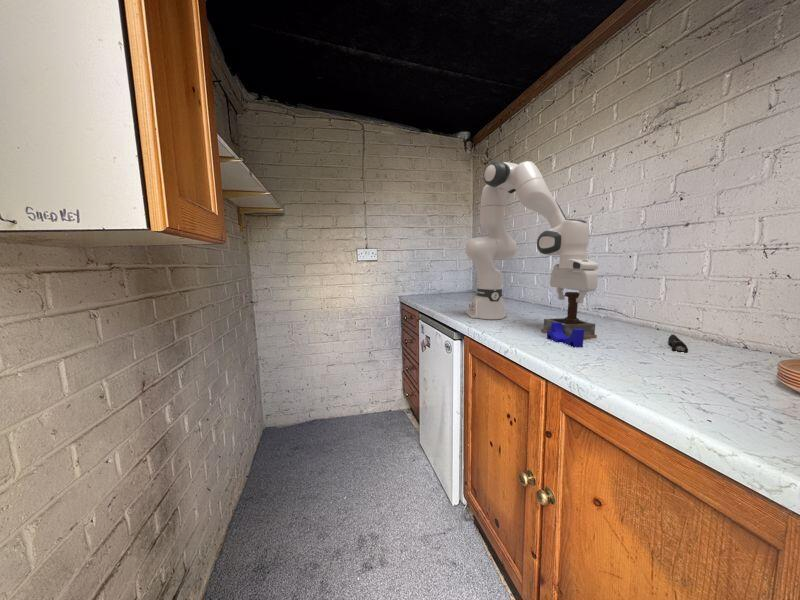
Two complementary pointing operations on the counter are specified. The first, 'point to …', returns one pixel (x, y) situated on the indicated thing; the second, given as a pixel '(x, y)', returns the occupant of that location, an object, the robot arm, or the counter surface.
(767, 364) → the counter surface
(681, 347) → the electric trimmer
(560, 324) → the cable clip
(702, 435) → the counter surface
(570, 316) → the bolt
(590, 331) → the bolt stand
